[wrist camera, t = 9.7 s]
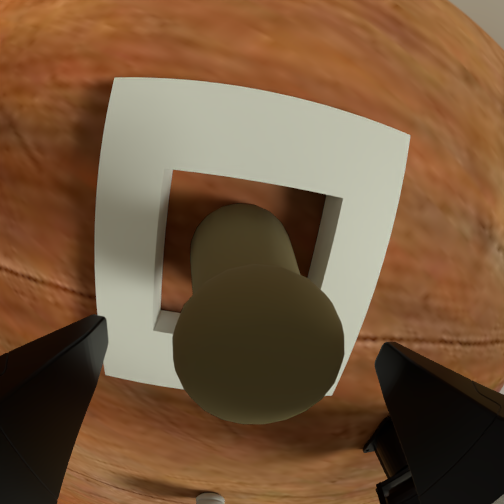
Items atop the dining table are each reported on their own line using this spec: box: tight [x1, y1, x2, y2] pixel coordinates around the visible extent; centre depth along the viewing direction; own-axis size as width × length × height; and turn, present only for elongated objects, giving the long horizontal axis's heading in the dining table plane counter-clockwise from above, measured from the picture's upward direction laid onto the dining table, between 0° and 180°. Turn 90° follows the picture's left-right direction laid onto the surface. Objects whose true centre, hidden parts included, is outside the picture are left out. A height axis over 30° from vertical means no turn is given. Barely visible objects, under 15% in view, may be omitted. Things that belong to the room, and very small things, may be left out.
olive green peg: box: [172, 203, 345, 424], centre depth 12 cm, size 6×6×11 cm
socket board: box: [95, 77, 410, 396], centre depth 16 cm, size 18×16×2 cm
